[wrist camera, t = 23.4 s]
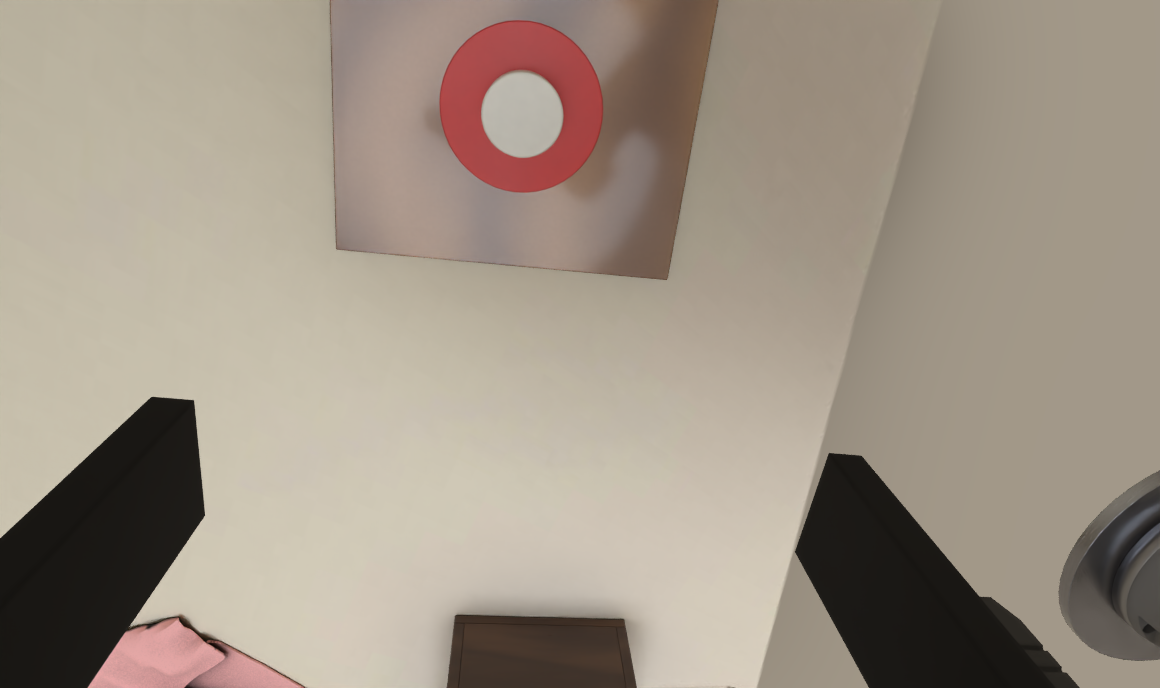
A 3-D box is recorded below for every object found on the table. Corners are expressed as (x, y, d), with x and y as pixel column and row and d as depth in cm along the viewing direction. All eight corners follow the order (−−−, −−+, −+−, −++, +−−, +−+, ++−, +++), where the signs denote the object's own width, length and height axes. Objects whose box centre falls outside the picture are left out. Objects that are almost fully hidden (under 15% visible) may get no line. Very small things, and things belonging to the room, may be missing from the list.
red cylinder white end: (582, 37, 35) (622, 31, 22) (569, 152, 38) (597, 212, 24) (468, 21, 35) (436, 5, 21) (462, 140, 37) (430, 194, 23)
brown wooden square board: (731, -93, 34) (736, -96, 33) (664, 276, 42) (667, 280, 41) (329, -160, 32) (325, -165, 31) (339, 245, 40) (335, 249, 39)
